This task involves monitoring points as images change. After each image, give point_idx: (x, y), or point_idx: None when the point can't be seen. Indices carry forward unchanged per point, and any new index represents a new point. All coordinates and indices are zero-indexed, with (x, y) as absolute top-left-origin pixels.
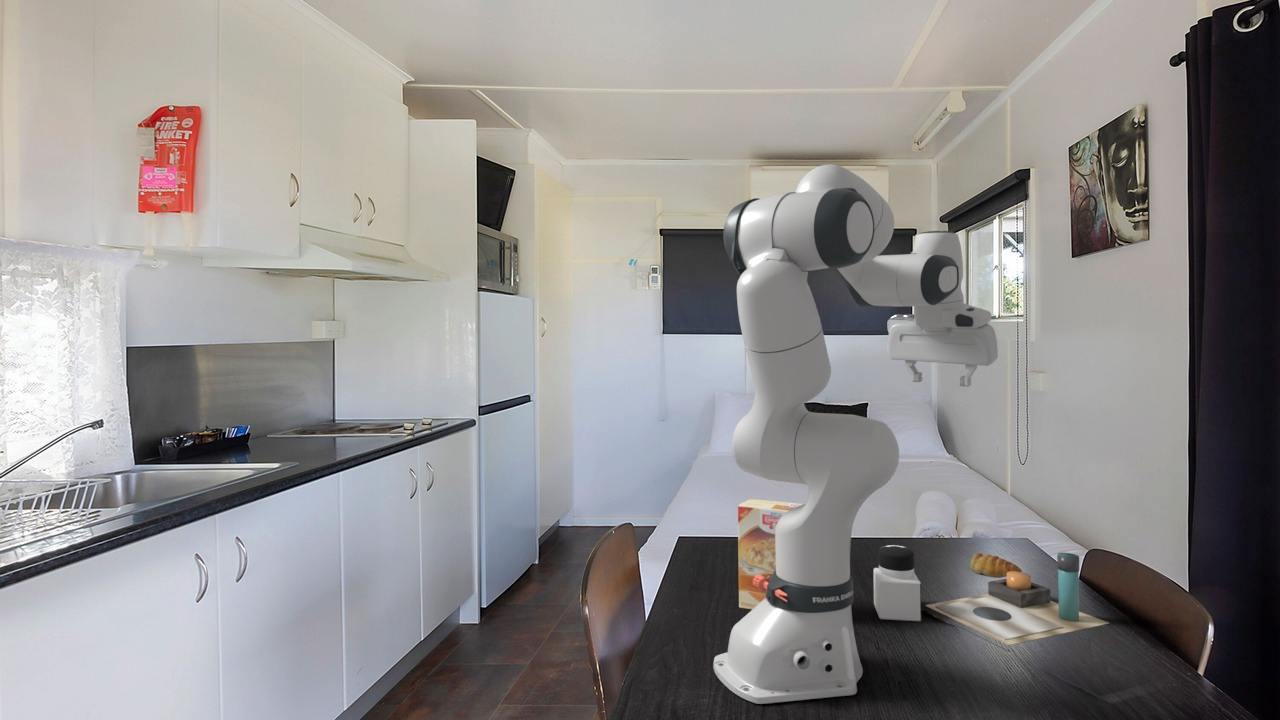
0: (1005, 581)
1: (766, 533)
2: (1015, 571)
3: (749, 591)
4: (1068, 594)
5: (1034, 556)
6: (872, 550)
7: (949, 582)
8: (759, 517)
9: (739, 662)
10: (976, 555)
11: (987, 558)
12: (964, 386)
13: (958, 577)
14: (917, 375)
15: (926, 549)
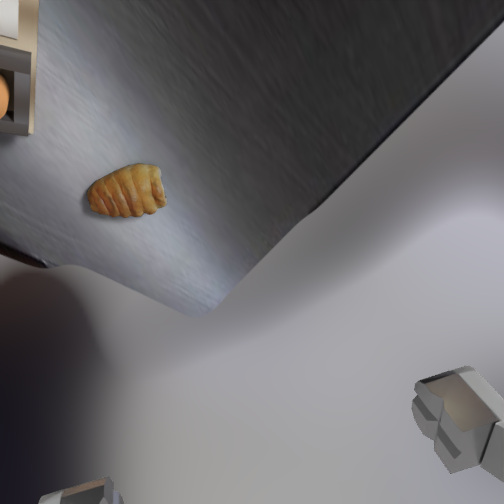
0: (15, 92)
1: None
2: (1, 115)
3: None
4: None
5: (143, 286)
6: (320, 125)
7: (141, 82)
8: None
9: None
10: (158, 189)
11: (137, 191)
12: (78, 485)
13: (149, 120)
14: (462, 421)
15: (261, 197)
